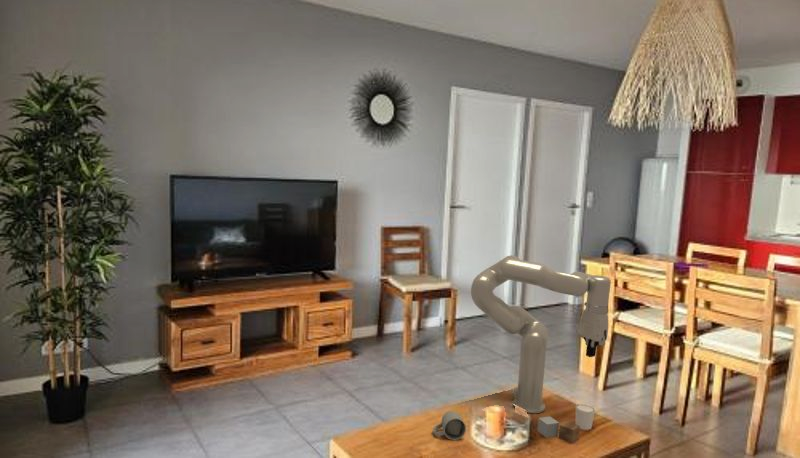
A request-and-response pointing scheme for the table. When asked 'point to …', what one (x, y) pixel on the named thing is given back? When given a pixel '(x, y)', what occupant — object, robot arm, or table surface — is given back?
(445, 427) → the ceramic mug
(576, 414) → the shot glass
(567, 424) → the walnut block
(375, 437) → the table surface
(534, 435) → the table surface
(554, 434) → the slate block
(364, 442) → the table surface
